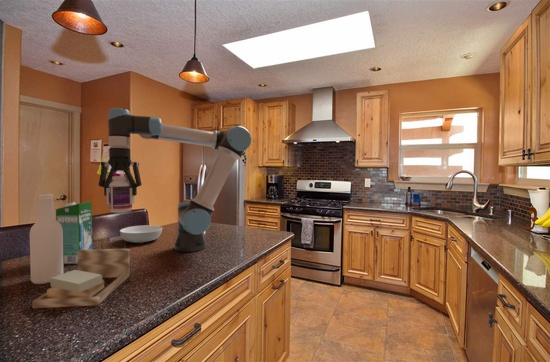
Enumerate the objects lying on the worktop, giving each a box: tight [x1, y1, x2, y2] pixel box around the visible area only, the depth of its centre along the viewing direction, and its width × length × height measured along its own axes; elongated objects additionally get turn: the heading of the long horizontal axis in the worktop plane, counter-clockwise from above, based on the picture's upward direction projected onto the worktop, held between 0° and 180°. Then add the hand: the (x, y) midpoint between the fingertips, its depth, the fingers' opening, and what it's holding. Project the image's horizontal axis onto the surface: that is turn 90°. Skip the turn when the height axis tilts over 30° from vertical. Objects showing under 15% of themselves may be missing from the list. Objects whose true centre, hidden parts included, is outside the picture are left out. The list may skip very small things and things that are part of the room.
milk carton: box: [55, 201, 93, 265], centre depth 115 cm, size 9×9×25 cm
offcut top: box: [50, 269, 103, 293], centre depth 81 cm, size 12×7×2 cm, turn 71°
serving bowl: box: [119, 224, 163, 244], centre depth 148 cm, size 21×21×7 cm
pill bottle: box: [108, 175, 133, 214], centre depth 109 cm, size 8×8×14 cm
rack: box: [31, 248, 131, 309], centre depth 87 cm, size 17×22×10 cm
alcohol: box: [29, 193, 65, 285], centre depth 94 cm, size 9×9×30 cm
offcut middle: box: [46, 279, 105, 298], centre depth 81 cm, size 12×7×2 cm, turn 92°
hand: (120, 203), depth 110 cm, fingers closed on pill bottle, 8 cm apart
